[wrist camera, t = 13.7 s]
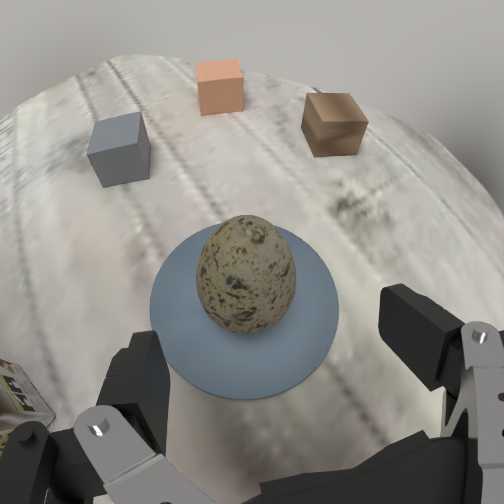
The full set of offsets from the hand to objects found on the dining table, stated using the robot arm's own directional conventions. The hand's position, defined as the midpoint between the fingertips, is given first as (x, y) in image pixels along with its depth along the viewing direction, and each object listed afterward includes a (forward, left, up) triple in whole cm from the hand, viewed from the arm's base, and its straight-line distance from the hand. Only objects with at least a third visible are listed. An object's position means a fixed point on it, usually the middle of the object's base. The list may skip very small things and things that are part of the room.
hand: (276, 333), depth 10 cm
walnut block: (-9, +24, -12) cm, 28 cm away
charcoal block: (-23, +7, -12) cm, 27 cm away
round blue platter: (-4, +3, -12) cm, 13 cm away
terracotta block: (-23, +21, -12) cm, 33 cm away
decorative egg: (-4, +3, -11) cm, 12 cm away
